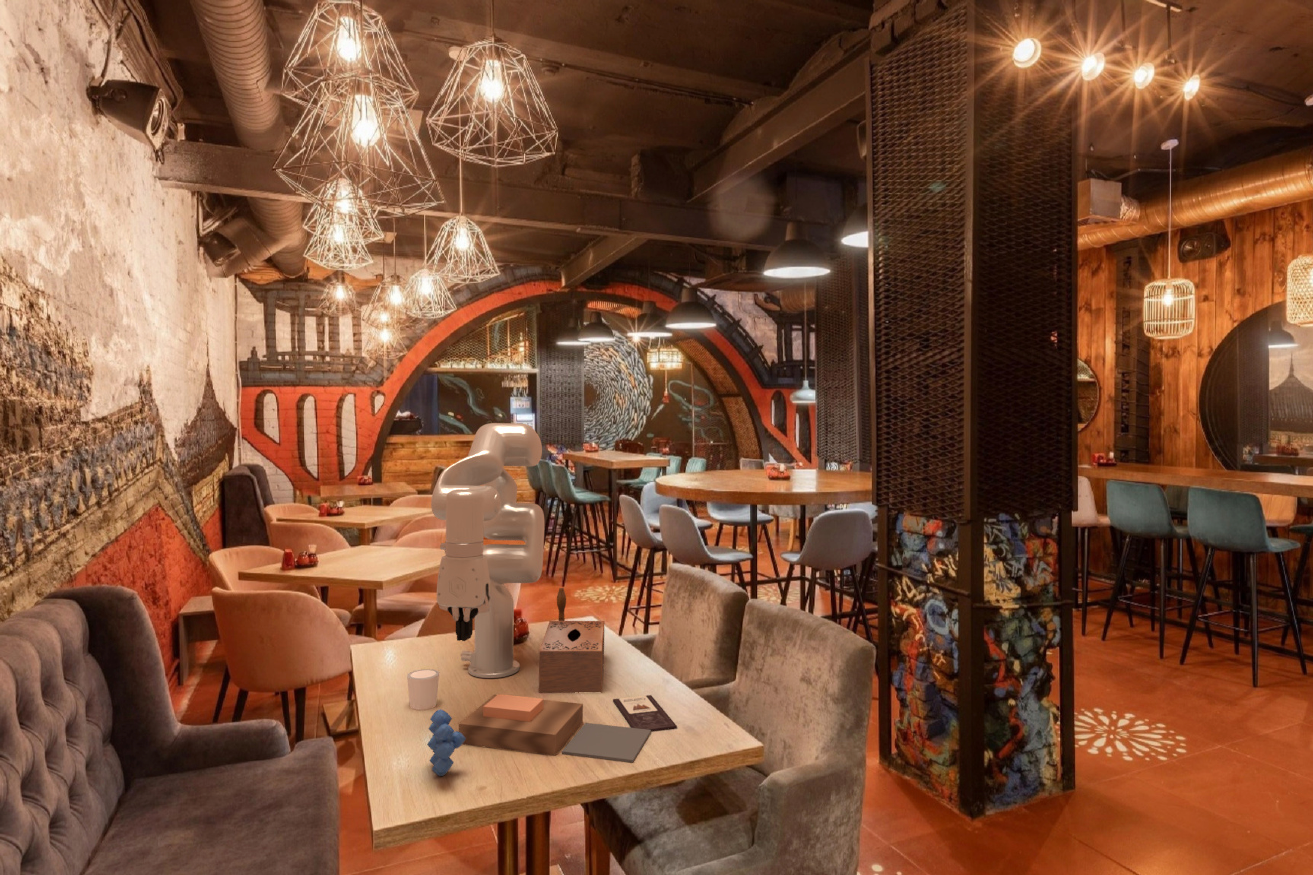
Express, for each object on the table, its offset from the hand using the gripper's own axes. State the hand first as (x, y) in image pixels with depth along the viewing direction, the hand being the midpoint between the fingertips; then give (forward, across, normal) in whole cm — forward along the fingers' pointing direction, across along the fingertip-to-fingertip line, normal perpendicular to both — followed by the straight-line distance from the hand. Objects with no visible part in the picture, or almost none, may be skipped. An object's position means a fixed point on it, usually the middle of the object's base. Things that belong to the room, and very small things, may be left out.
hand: (464, 638), depth 158 cm
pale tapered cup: (+18, -14, +8) cm, 25 cm away
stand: (+18, +13, 0) cm, 22 cm away
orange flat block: (+14, +11, 0) cm, 18 cm away
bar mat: (+18, +31, 0) cm, 36 cm away
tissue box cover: (+18, +11, +36) cm, 42 cm away
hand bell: (+18, 0, +58) cm, 60 cm away
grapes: (+19, +7, -20) cm, 28 cm away
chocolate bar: (+19, +34, +16) cm, 42 cm away
